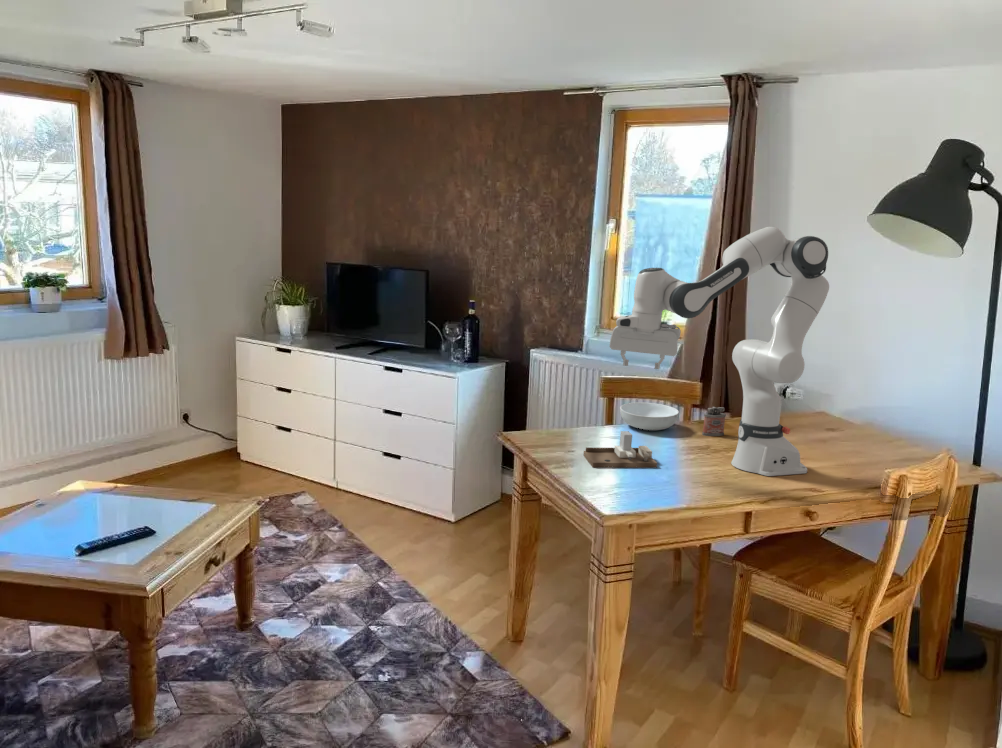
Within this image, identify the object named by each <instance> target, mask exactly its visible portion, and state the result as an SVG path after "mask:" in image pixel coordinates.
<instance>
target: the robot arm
mask: <svg viewBox="0 0 1002 748" xmlns="http://www.w3.org/2000/svg"><path fill="white" fill-rule="evenodd" d="M828 258H829V249H828V245H827V243H826V241H824V240H823V239H822V238H820V237H817V236H813V235H807V236H806V235H805V236H802V237H798V238H795V239H792V240H789V239H787V238H786V236H785V235H784V233H783V232H782V230H780V229H779V228H778V227H775V226H766V227H763V228H760V229H757V230H755V231H752V232H750V233H748V234H746V235H745V236H743V237H740V238H739V239H737V240H736V241H735V242H733V243H732V244H730V245H729V246H728V247H727V248H726V249H725V250H724V251H723V252H722V258H721V259H722V261H721V263H722V266H721V267H720V268H719V269H717V270H716V271H714V272H712V273H711V274H709V275H708V276H706V277H705V278H703V279H701V280H700V281H697V282H685V281H683V280H680V279H678V278H676V277H674V276H672V275H671V274H670V273H668V272H667V271H666V270H665V269H664V268H662V267H649V268H644V269H641V270H640V271H639V272H638V274H637V277H636V279H635V285H634V292H633V301H634V304H633V307H632V311H631V315H624V316H620V317H618V318H616V321H615V324H616V326H615V327H613V330H612V332H611V335H610V340H609V348H610V350H613V351H615V350H616V351H620V355H621V358H622V360H623V364H622V366H624V367H625V366H626V367H628V366H629V361H630V360H629V359H627V358H626V353H627V352H632V353H640V354H650V355H658V356H659V359H660V360H659V361H658V362H654V369H655V370H660V368H661V367H660V366H661V364H662V362H663V361H664V360H665V356H669V357H676V355H677V354H678V343H679V342H678V341H679V339H680V338H681V332H682V330H681V329H680V327H678V326H677V325H675V324H667V323H662V318H663V311H668V312H671V313H674V314H676V315H677V316H680V318H684V319H693V318H696V317H698V316H700V315H701V314H702V313H703V312H704V310H706V308H708V305H709V304H710V303H711V302H712V301H714V299H716V298H717V297H719V296H721V295H722V294H723V293H724V292H726V291H727V290H729V289H730V288H732V287H733V286H735V285H736V284H739V282H741V281H742V280H744V279H745V278H747V277H750V276H752V275H754V274H755V273H757V272H758V271H760V270H762V269H764V268H765V267H766V266H769V265H770V266H771V267H772V269H773V271H775V273H776V274H778V275H780V276H782V277H785V278H791V282H790V283H791V284H790V286H789V289H788V290H787V292H786V293H785V295H784V297H783V298H782V300H781V302H779V304H778V306H777V308H776V310H775V311H774V313H773V314H772V316H771V319H770V324H771V326H772V328H773V332H772V336H771V338H770V340H769V341H765V340H761V339H756V338H755V339H754V338H753V339H751V338H750V339H743V340H741V341H739V342H737V344H735V346H734V348H733V349H732V353H731V355H732V356H731V360H732V362H733V364H734V365H735V367H736V369H737V371H738V374H739V378H740V381H741V386H742V387H741V388H742V399H743V400H742V408H741V410H742V411H741V419H740V420H739V426H738V430H737V431H738V432H737V433H738V435H737V438H738V441H737V446H736V449H735V452H734V454H733V458H732V460H731V463H730V464H731V465H732V466H733V467H734V468H736V469H739V470H742V471H745V472H749V473H755V474H759V475H761V476H767V477H775V476H776V477H777V476H787V475H801V474H807V473H808V468H807V466H806V465H804V464H803V463H802V462H801V454H800V451H799V449H798V448H797V447H796V446H795V445H793V444H792V442H791V441H789V440H788V439H787V438H786V437H785V436H784V434H785V435H789V434H790V433H791V428H789V427H788V426H784V425H782V424H781V423H780V418H781V409H782V399H781V396H780V394H779V393H778V391H777V389H776V387H775V384H774V383H776V384H791V383H795V382H796V381H798V380H799V379H800V378H802V376H803V373H804V370H805V360H804V357H803V354H802V353H803V352H802V351H803V344H804V340H805V337H806V335H807V333H808V331H809V330H810V328H811V326H812V325H813V323H814V321H815V319H816V318H817V316H818V314H819V313H820V311H821V309H822V308H823V305H824V304H825V301H826V299H827V296H828V293H829V291H830V284H829V283H830V282H829V281H828V280H827V278H826V277H825V276H823V274H825V273H826V271H827V262H828Z"/></svg>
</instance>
